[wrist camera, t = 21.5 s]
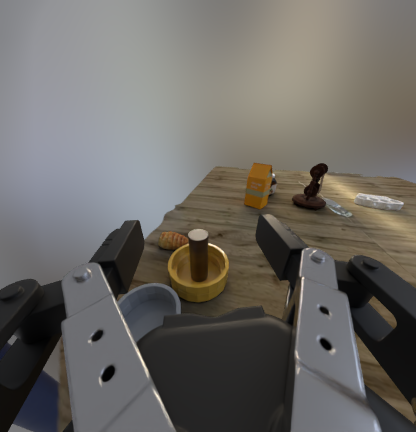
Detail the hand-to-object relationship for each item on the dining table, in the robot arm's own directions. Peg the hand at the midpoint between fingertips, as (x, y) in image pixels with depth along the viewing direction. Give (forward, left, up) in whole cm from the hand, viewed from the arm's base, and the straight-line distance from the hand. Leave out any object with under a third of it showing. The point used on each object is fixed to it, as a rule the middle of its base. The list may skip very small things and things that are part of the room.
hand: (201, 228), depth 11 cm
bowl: (+13, +15, -28) cm, 34 cm away
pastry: (+16, +31, -28) cm, 45 cm away
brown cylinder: (+13, +14, -27) cm, 33 cm away
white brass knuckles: (+108, -17, -28) cm, 113 cm away
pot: (-2, +13, -28) cm, 31 cm away
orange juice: (+64, +27, -28) cm, 75 cm away
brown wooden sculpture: (+83, +8, -28) cm, 88 cm away
